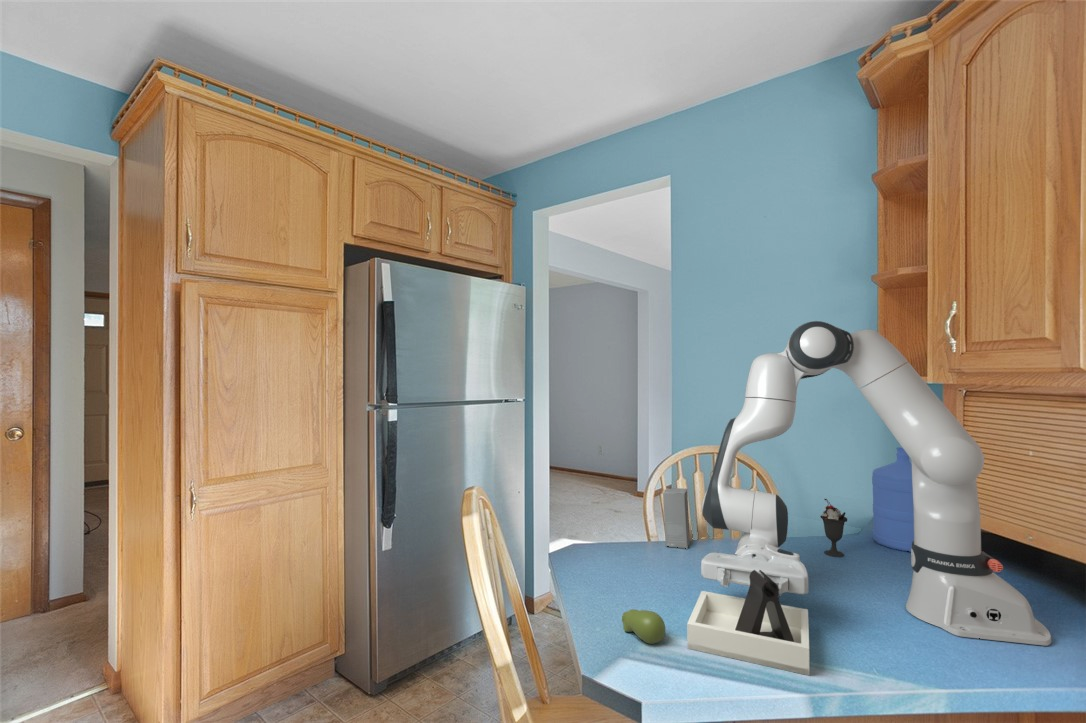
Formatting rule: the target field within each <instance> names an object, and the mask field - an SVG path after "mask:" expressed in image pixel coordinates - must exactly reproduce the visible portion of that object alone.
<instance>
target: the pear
mask: <svg viewBox="0 0 1086 723" xmlns="http://www.w3.org/2000/svg"><path fill="white" fill-rule="evenodd" d="M621 621H622V625H623V626H622V627H623V631H625V632H626V633H628V632H629V633H631V632H634V634H635V635H636V636H637V637H638V638H639V639H640V640H641V641H644V643H646V644H649V645H650V644H651V645H653V644H657V643H659V642H661V641H662V640H663V639H664V637H665V635H666V625H665V621H664V620H663V618H662V616H660V614H658V613H656V612H655V611H652V610H646V609H642V610H641V609H640V610H638V609H635V608H633V609H630V610H627V611H625V612H623V613H622V615H621Z"/></svg>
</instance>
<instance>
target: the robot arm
mask: <svg viewBox="0 0 1086 723" xmlns="http://www.w3.org/2000/svg"><path fill="white" fill-rule="evenodd" d="M831 369H836V370H837V369H838V370H840V371H842V372H844V374H845V375H847V376H848V377H849V378H850V379H851V381H852V382H853V383H854V385H855V386H856V388H857V389H858V391H860V393H861V394H862V396H863V397H864V398H865V399H866V401H867V402H868V403H869V405H870V406H871V407H872V409H873V410H874V411H875V413H876V414H877V415H878V416H879V418H880V420H882V422H883V423H884V424H885V425H886V427H887V428H888V430H889V431H890V432H891V434H892V435H893V436H894V438H895V440H896V441H897V443H899V445H900V447H901V448H903V449H904V450H905V451H906V453H907V454H908V456H909V459H910V460H911V463H912V484H913V506H914V541H913V542H912V548H911V552H910V561H911V562H910V563H911V564H910V565H911V567H912V569H913V571H912V578H911V579H912V580H911V585H910V590H909V591H910V592H909V594H908V599H907V601H906V604H905V608H906V611H907V612H908V613H910V614H911V616H914V617H915V618H918V619H919V620H920V621H922V622H926V623H928V624H931V625H933V626H936V627H938V628H941V629H943V630H944V631H946V632H947V633H948V632H949V633H950V634H952V635H954V636H957V637H962V638H963V637H964V638H969V639H970V638H971V639H979V638H980V640H981V639H982V640H991V641H998V642H1000V641H1001V642H1008V643H1017V644H1018V643H1019V644H1027V645H1036V646H1037V645H1038V646H1043V647H1044V646H1050V645H1051V644H1052V642H1053V640H1052V635H1051V633H1050V631H1049V629H1048V628H1047V627H1046V626H1045V625H1044V624H1043V623H1042V622H1041V621H1039V620H1038V619H1036V618H1035V616H1034V612H1033V608H1032V607H1031V606H1032V605H1031V604H1030V602H1029V601H1028V599H1027V598H1026V597H1025V596H1024V595H1023V594H1022V593H1021V592H1020V591H1018V590H1017V589H1016V588H1015V587H1014V586H1012V585H1011V584H1010V583H1009V582H1007V581H1006V580H1005V579H1003V578H1002V577H1000V576H999V575H998V574H996V573H1001V572H1002V571H1003V570H1004V566H1003V564H1002V563H1001V562H1000V561H999V560H998V559H995V558H994V557H993V556H991V555H989V554H987V553H986V552H984V551H982V528H981V527H982V526H981V521H982V520H981V519H982V518H981V509H980V502H979V494H978V485H977V484H978V483H977V478H978V477H979V476H980V474H981V473H982V471H983V469H984V465H985V456H984V452H983V450H982V449H981V448H982V447H981V446H980V445H979V444H978V443H977V441H976V440H975V439H974V438H973V436H972V435H971V434H970V433H969V432H968V431H967V430H966V429H965V428H964V426H963V425H962V424H961V423H960V421H959V420H958V419H957V418H956V417H955V415H953V413H952V412H951V411H950V410H949V409H948V407H947V406H946V405H945V404H944V403H943V401H941V399H940V398H939V396H937V395H936V393H935V392H934V391H933V390H932V389H931V387H930V386H929V385H928V384H927V382H926V381H925V380H924V379H923V378H922V376H921V375H920V374H919V373H918V372H917V371H916V369H915V368H914V367H913V365H912V364H911V363H910V362H909V361H908V360H907V358H906V357H905V356H904V354H902V353H901V351H900V350H898V349H897V347H896V346H895V345H893V344H892V343H891V341H889V340H888V339H887V338H886V337H885V336H883V335H882V334H881V333H879V332H878V331H877V330H874V329H869V328H868V329H867V328H865V329H861V330H860V329H859V330H856V331H854V332H852V333H850V332H849V331H846V330H845V329H842V328H839V327H838V326H835V325H833V324H831V323H828V322H826V321H825V322H824V321H821V320H820V321H817V320H814V321H807V322H805V323H803V324H801V325H799V326H798V327H796V328H795V329H794V331H793V332H792V334H791V335H790V337H789V339H788V340H787V343H786V347H785V349H784V350H783V351H781V352H777V353H775V352H769V353H763V354H760V355H757V356H756V357H755V358H754V359H753V361H752V363H751V365H750V369H749V373H748V377H747V381H746V385H745V393H744V400H743V401H744V402H743V406H742V408H741V410H740V412H739V414H738V415H737V416H736V417H734V418H730V419H729V421H728V422H727V424H726V427H725V430H724V431H723V435H722V438H721V441H720V445H719V448H718V452H717V456H716V460H715V462H714V466H713V471H712V473H711V478H710V480H709V485H708V487H707V490H706V491H705V493H704V496H703V499H702V503H701V512H702V513H701V514H702V517H703V518H704V520H705V521H706V522H707V524H708V525H710V526H711V527H712V528H713V529H719V530H726V531H729V530H731V531H735V532H736V531H737V532H741V533H743V534H742V536H741V537H740V539H739V541H738V544H737V547H736V548H735V552H734V554H729V553H722V552H709V553H707V554H705V556H704V557H702V559H701V562H700V563H701V564H700V574H701V575H700V576H701V577H703V579H706V580H710V581H711V580H713V581H717V582H719V583H720V587H729V586H730V584H737V585H741V586H742V585H743V586H748V587H750V578H749V576H750V573H751V572H752V571H753V570H756V571H757V572H758V573H759V574H760V575H761V576H762V577H763V578H764V576H763V574H762V573H761V572H759V570H761V571H763V572H764V573H765V574H766V575H767V576H768V577H769V578H770V579H771V580H772V581H774V582H775V583H776V584H777V586H778V588H779V592H778V596H779V597H780V596H782V594H784V593H791V594H796V595H807V594H809V573H808V570H807V567H806V566H805V564H804V563H803V562H801V556H800V554H799V553H795V552H792V551H790V550H785V549H782V548H780V547H781V546H782V545H783V544H784V543H785V542H786V541H787V536H788V529H789V528H788V526H789V525H788V524H789V513H788V512H789V511H788V507H787V505H786V503H785V502H784V500H783V498H781V497H780V495H778V494H775V493H771V492H770V493H769V492H765V491H759V490H758V491H757V490H750V489H745V488H740V487H739V488H738V487H733V486H731V485H730V478H731V474H732V471H733V468H734V464H735V460H736V457H737V454H738V452H739V451H740V450H741V449H742V448H743V447H745V446H747V445H750V444H753V443H754V444H755V443H757V442H762V441H765V440H771V439H774V438H776V437H779V436H781V435H783V434H785V433H786V432H787V431H788V430H789V429H790V428H791V427H792V426H793V423H794V419H795V413H796V408H797V395H798V394H797V390H798V386H799V383H800V381H801V380H803V379H807V378H813V377H818V376H821V375H824V374H825V373H826V372H828V371H830V370H831Z"/></svg>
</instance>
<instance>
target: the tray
mask: <svg viewBox="0 0 1086 723" xmlns="http://www.w3.org/2000/svg"><path fill="white" fill-rule="evenodd" d="M745 599H746V597H738V596H734V595H728V594H723V593H716V592H711V591H705V590H701V591H700V594H699V596H698V598H697V601H696V603H695V605H694V608H693V610H692V611H691V614H690V617H689V619H688V620H687V623H686V633H687V634H686V636H687V638H686V641H687V645H686V646H687V647H686V648H687V650H688V649H689V650H692V651H697V652H702V653H707V654H711V655H715V656H720V657H724V658H727V659H732V658H734V660H737V659H738V661H741V660H742V661H741V662H745V661H746V662H745V663H750V664H754V665H760V666H765V667H767V668H768V667H769V668H773V669H777V670H781V671H787V672H791V673H795V674H799V675H804V676H808V677H810V672H811V671H810V634H809V633H810V632H809V631H810V630H809V628H810V626H809V609H807V608H804V607H803V608H802V607H798V606H797V607H796V606H790V605H784V604H781V607H782V610H783V612H784V615H785V618H786V620H787V623H788V626H789V628H790V631H791V634H792V636H793V639H794V642H790V641H785V640H780V639H775V638H771V637H766V636H761V635H756V634H751V633H746V632H741V631H736V630H735V629H736V626H737V623H738V620H739V617H740V614H741V611H742V608H743V605H744V602H745ZM760 632H772V628H771V624H770V620H769V617H768V613H767V610H766V609H765V613H764V617H763V621H762V625H761V630H760Z"/></svg>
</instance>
